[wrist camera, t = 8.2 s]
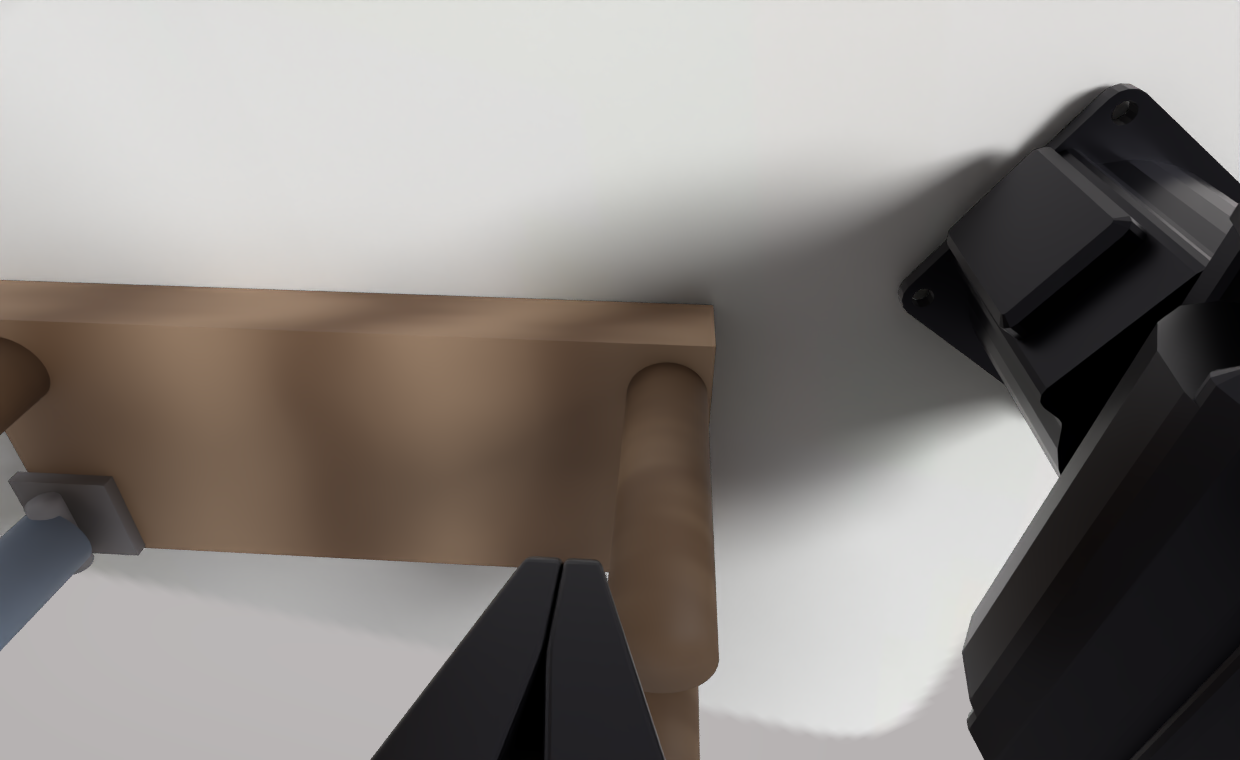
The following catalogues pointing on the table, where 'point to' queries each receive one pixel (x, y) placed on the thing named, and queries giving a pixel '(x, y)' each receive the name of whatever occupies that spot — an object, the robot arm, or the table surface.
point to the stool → (386, 438)
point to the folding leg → (38, 560)
